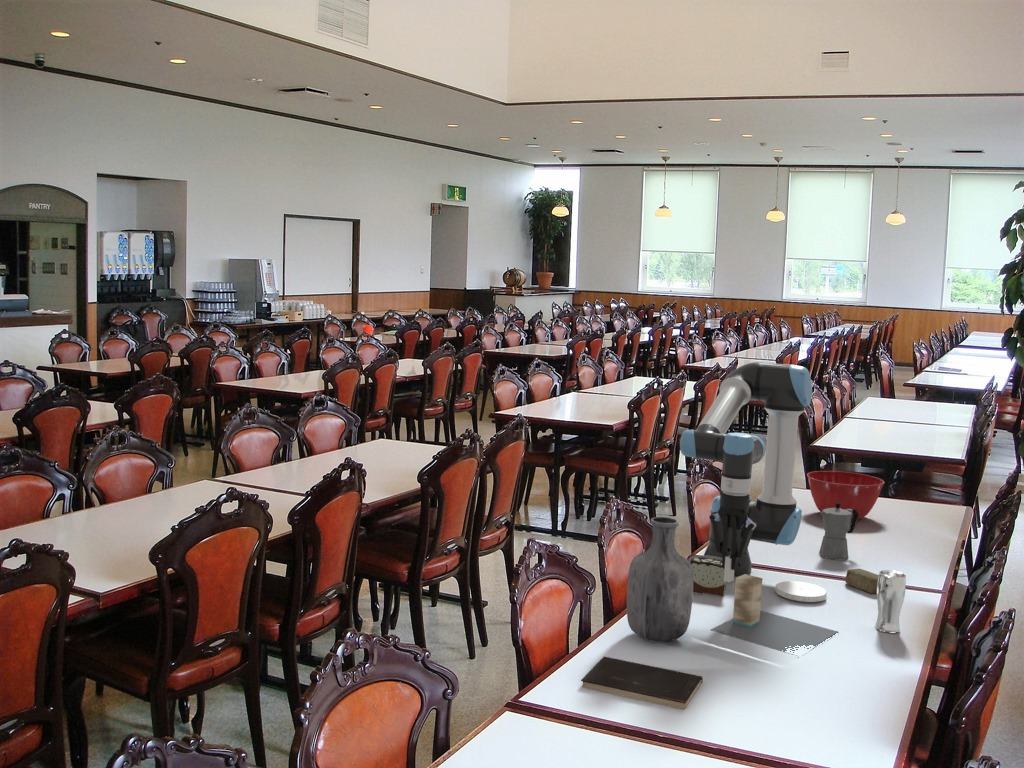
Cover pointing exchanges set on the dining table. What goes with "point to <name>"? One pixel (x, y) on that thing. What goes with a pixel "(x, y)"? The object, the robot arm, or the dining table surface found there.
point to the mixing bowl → (844, 490)
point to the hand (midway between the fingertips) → (728, 580)
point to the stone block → (862, 580)
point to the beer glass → (890, 599)
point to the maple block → (747, 600)
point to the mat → (777, 632)
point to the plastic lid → (801, 591)
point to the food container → (708, 575)
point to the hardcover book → (642, 682)
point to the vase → (660, 587)
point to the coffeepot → (837, 531)
